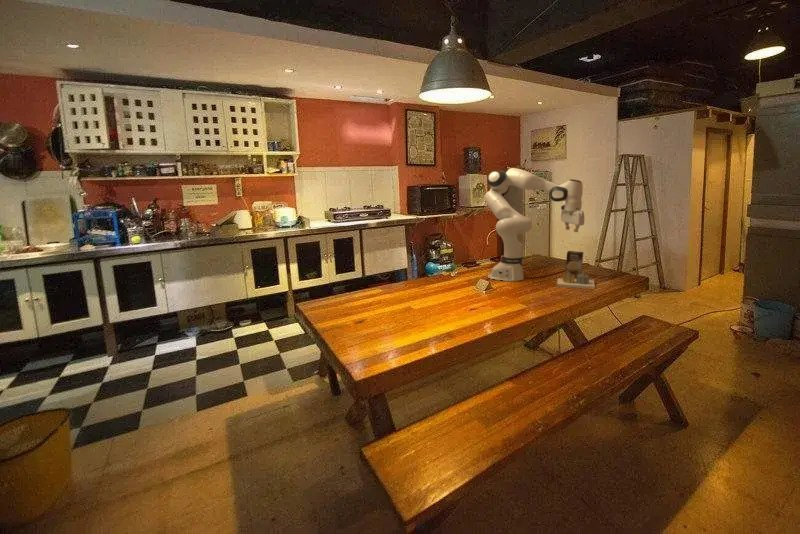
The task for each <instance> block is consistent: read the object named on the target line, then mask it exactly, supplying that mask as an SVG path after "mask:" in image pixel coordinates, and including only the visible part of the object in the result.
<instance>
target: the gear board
mask: <svg viewBox="0 0 800 534" xmlns="http://www.w3.org/2000/svg"><path fill="white" fill-rule="evenodd" d="M567 275H571V273H567ZM562 280H563V277H562V278H560V277H559V278H558V277H557V282H556V286H557V287H563V288H575V289H576V288H577V289H588V290H589V289H591V290H595V289H596V285H595V284H596V283H595V281H594V280H591V279H590V275H588V274H586V273H585V272H583V273H582V274H580V275H577V278H575V280H574V282H573V283H565V282H563V281H562Z"/></svg>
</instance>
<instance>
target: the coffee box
mask: <svg viewBox="0 0 800 534" xmlns="http://www.w3.org/2000/svg"><path fill="white" fill-rule="evenodd" d="M583 260H584V251H573V250H568V251H567V253H566V261H565V273H564V274H567V273H571V274H574V275H575V279H577V275H580V274H582V271H583V262H584V261H583Z"/></svg>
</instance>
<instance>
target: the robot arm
mask: <svg viewBox="0 0 800 534" xmlns="http://www.w3.org/2000/svg"><path fill="white" fill-rule="evenodd" d="M486 180H487V184H488V185H489V187H490V188H489V190H488V191H487V192H486V193H485V195H484V200H485V202H486V204H487V206H488V208H489V210H490V211H491V212H492V214H493V215H494V216H495V218H496V219H497V222H496V225H495V231H496V233H497V234H498V236H500V237H501V240H502V242H503V254H502V255H501V256H500V262H498V263H497V264H495V265H494V266H493V267H492V268H491V273H489V274H488V275H487V279H488V278H490V279H489V280H492V279H495V280H494V281H500V280H503V281H502V282H508V281H509V283H510V282H518V281H519V282H520V281H522V280H524V279H525V277H524V271H523V266H524V265H523V264H524V257H523V243H522V242H520V240H519V239H518V236H519V235H524V234H526V233H527V232H531V230H532V227H533V222H532V220H531V218H530V217H528V216H525V215H523V214H521V213H520V212H518V211H517V210H516V209H514V208H513V207H512V206H511V205H510V204H509V202H508V201H507V200H506V199H505V195H507V194H508V193H509V191H510V186H513V187H517V188H518V189H521V190H522V189H523V190H527V191H530V190H531V191H532V190H533V191H534V190H535V191H536V190H539V191H541V190H542V191H546V192H548V194H549V198H550V200H552V201H553V202H557V203H559V202H565V203H564V204H563V205H561V206H560V210H561V211H560V220H561V222H562V223H563V222H564V226H565V230H567V231H569V230H570V229H571V227H570V226H569V225H570V224H572V225H574V227H575V228H574V229H573V232H574V233H578V232H579V229H580V226H584V224H585V213H584V211H583V209H582V205H583V201H582V198H583V191H584V190H583V188H584V187H583V186H584V185H583V182H582V181H581V180H580V179H572V178H571V179H568V180H566V182H563V183H561V184H559V183H556V182H553V181H550V180H547V179H544V178H542V177H540V176H538V175H536V174H534V173H531V172H529V171H527V170H524V169H521V168H517V167H511V168H509V169H507V171H504V170H492V171H491V172H489V173H488V175H487V178H486Z"/></svg>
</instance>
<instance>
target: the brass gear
mask: <svg viewBox="0 0 800 534" xmlns="http://www.w3.org/2000/svg"><path fill="white" fill-rule="evenodd" d="M562 279H563V280H562V281H563V282H565V283H573V282H574V280H575V279H576V278H575V275H574V274H571V275H567V274H565V273H564V274H562Z"/></svg>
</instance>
